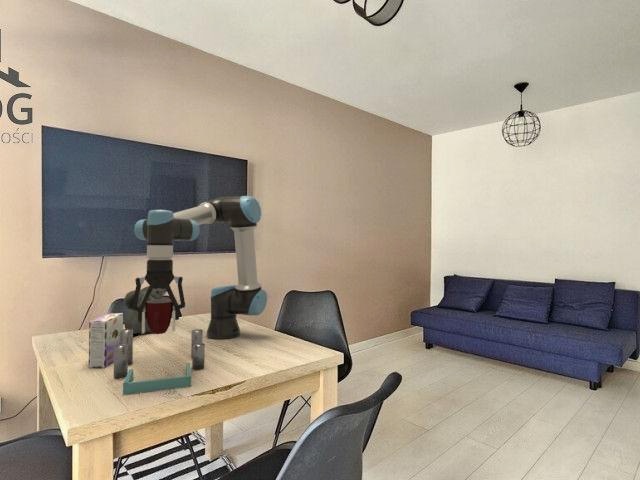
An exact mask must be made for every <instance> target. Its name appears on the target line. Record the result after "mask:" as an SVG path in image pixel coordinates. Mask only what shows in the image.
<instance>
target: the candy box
mask: <svg viewBox="0 0 640 480" xmlns="http://www.w3.org/2000/svg"><path fill="white" fill-rule="evenodd" d="M88 323H89V326H88V330H89V331H88V333H89V334H88V368H89V369H93V368H94V369H104V368H107V367H108V366H110V365H111V364H114V346H115V345H118V344H120V331H121V330H124V313H123V312H118V313H112V312H111V313H107V314H104V315H101V316H99V317H97V318H94V319H92V320H89V321H88Z"/></svg>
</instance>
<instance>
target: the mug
mask: <svg viewBox="0 0 640 480" xmlns="http://www.w3.org/2000/svg"><path fill="white" fill-rule="evenodd" d="M173 309H174V305H173V303H172V301H171V299H162V298H161V299H160V300H150V301H147V302H146V307H145V310H146V317H147V323H148V327H149V329H150V330H151V332H152V333H151V334H153V335H163V334H165V333H166V332H167V331H168V329H169V327H170V324H171V322H172V318H173Z"/></svg>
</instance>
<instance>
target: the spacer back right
mask: <svg viewBox="0 0 640 480" xmlns="http://www.w3.org/2000/svg"><path fill="white" fill-rule="evenodd" d="M120 344H128V366H130V365H132V364H133V363H134V362H133V361H134V360H133V358H134V357H133V354H134V353H133V352H134V351H133V350H134V348H133V347H134V346H133V345H134V335H133V329H124V328H123V330H121V331H120Z"/></svg>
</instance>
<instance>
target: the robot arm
mask: <svg viewBox="0 0 640 480" xmlns="http://www.w3.org/2000/svg"><path fill="white" fill-rule="evenodd" d="M261 218H262V208H261V205H260V202H259V201H258V200H257V198H255V197H254V196H251V195H241V196H238V195H236V196H220V197H217V198H215V199H210V200H207V201H204V202H202V203H200V204H199V205H198V206H194V207H192V208H187V209H183V210H179V211H177V212H173V211H171V210H168V209H167V210H166V209H151V210H149V211H148V214H147V218H145V219H139V220H138V221H136V223H134V224H135V225H134V226H133V227H134V228H133V231H134V235H135V237H136V238H137V239H138V240H141V241H147V244H146V258H147V260H146V274H145V276H141V277H136V278H135V285H136V286H135V294H134V299H133V304H132V310H136V311H138V322H142V333H141V334H146V332H145V324H146V311H143V309H144V306H145V304H146V302H147V300H148V298H149V296H150V294H151V292H152V290H153V289H158V288H161V289H165V288H166V291H167V292H166V293H167V294H168V296H169V298H170V299H169V300H171V301H172V303H173V312H172V321H171V322H172V324H171V325H172V328H171V329H172V330H171V331H172V332H176V321H178V320H179V319H180V310H181V309H183V308H184V309H185V308H186V301H185V297H184V296H185V295H184V288H183V285H182V283H183V280H184V279H183V276H177V275H176V276H175V275H174V273H173V272H174V269H173V268H174V267H173V265H174V262H173V257H174V241H175V242H176V241H178V242H190V241H195V240H196V239H197V238H198V237H199V235H200V231H201V230H200V225H203V224H205V225H210V224H214V223H215V224H217V223H223V224H224V223H225V224H229V225H230V226H229V227H230V229H231V230H232V231H233V232H234V233H233V234H234V245H235V257H236V269H237V282H238V283H237V284H231V285H223V286H216V287H213V288H211V291H210V293H211V294H210V321H209V324H208V327H207V330H206V338H208V339H211V340H228V339H234V338H236V337H239V336H240V335H241V329H240V326H239V323H238V319H237V315H241V316H251V317H253V316H257V317H258V316H260V315H262V313H264V311H265V309H266V307H267V303H268V302H267V301H268V293H267V292H266V290H264V289H262V284H261V283H260V282H259V281H258V270H257V269H258V268H257V257H256V255H257V254H256V241H255V229H256V228H257V226H258V223H259V222H260V221H261ZM173 281H174V282H175V283H176V284H177V289H178V295H179V301H180V304H179V303H178V301H177V299H176V296H175V294H174V292H173V290H172V288H171V283H172V282H173ZM144 282H146V283H147V284H148V286H149V288H148V291H147V293H146V295H145V297H144V299H143V301H142V303H141V305H140V307H139V306H137V304H138V299H139V295H140V290H141V289H142V285H143V284H144Z"/></svg>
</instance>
